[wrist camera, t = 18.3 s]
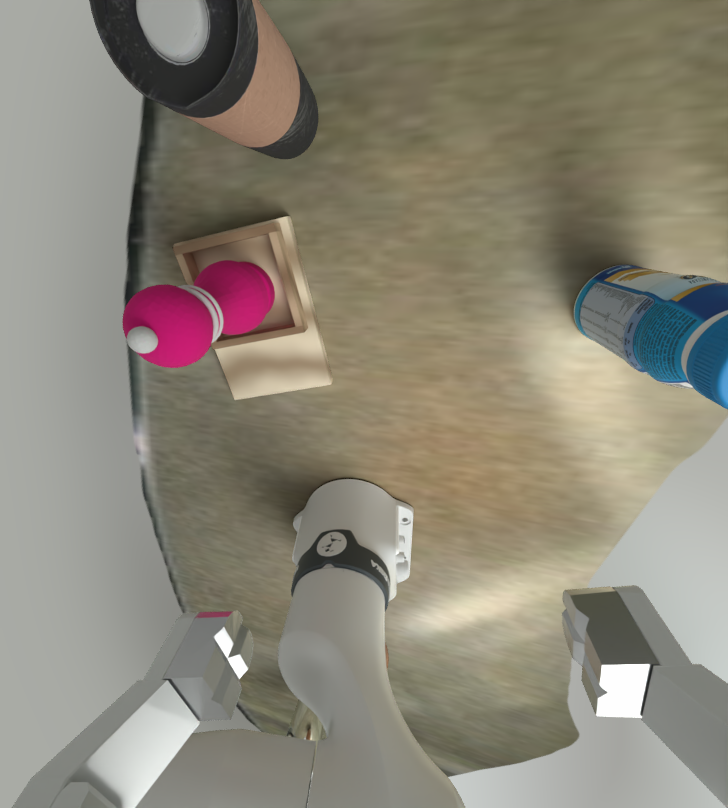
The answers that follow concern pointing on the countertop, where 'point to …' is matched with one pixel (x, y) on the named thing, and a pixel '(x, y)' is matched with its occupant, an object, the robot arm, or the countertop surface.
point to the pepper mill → (197, 312)
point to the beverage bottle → (661, 325)
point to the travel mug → (214, 68)
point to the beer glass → (305, 725)
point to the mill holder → (282, 326)
